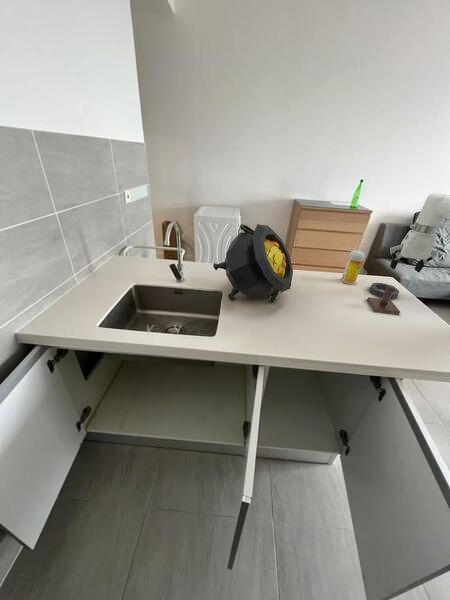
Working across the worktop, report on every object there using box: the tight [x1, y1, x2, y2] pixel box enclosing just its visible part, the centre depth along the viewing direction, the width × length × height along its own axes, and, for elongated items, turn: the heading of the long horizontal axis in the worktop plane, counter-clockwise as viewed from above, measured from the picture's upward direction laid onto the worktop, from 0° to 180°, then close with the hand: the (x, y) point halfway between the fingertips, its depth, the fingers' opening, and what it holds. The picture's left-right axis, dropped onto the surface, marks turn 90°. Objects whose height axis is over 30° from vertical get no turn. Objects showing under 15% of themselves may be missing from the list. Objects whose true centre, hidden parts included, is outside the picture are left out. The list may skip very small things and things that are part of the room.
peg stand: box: [366, 284, 401, 316], centre depth 96 cm, size 9×9×10 cm
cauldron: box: [212, 223, 294, 303], centre depth 95 cm, size 28×28×24 cm
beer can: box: [341, 249, 366, 285], centre depth 113 cm, size 6×6×15 cm
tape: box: [368, 282, 400, 301], centre depth 108 cm, size 11×11×2 cm
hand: (404, 269), depth 102 cm, fingers open, 9 cm apart
